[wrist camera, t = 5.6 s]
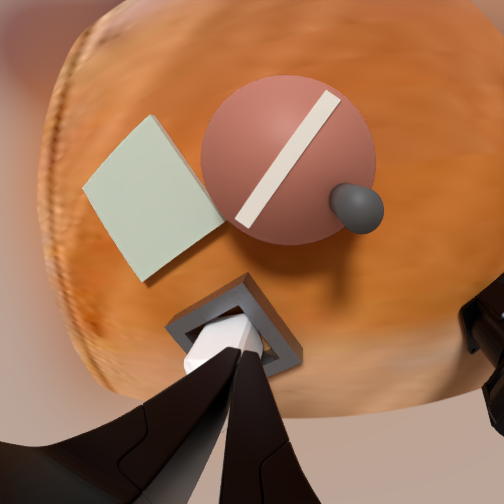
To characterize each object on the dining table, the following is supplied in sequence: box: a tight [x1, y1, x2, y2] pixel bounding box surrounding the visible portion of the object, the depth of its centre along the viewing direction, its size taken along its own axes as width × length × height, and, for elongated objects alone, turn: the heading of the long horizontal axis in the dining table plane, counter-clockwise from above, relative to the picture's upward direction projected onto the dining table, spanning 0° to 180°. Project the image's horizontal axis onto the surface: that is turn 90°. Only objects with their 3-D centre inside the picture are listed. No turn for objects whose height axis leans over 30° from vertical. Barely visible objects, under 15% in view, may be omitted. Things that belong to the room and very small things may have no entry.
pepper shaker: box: [184, 313, 263, 433], centre depth 18 cm, size 4×4×10 cm
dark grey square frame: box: [165, 272, 303, 377], centre depth 21 cm, size 8×8×2 cm
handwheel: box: [201, 75, 384, 245], centre depth 13 cm, size 10×10×5 cm
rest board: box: [83, 114, 227, 282], centre depth 20 cm, size 10×9×1 cm
